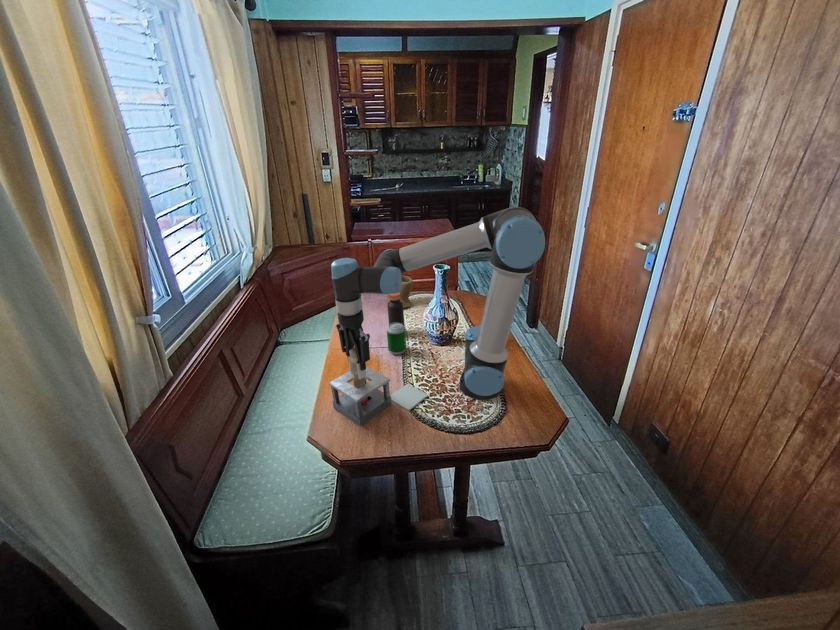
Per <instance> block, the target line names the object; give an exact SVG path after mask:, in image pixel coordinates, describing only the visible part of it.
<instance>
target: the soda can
mask: <svg viewBox="0 0 840 630" xmlns="http://www.w3.org/2000/svg"><path fill="white" fill-rule="evenodd" d="M406 337H407V335H406V327H405V324H404V325H402V324H401V323H391V324H390V325H389V324H388V325H387V327H386V339H387V348H388V352H389V353H391V354H392V355H395V356H400V355H402V354H403V353H405V352H406V350H407V338H406Z"/></svg>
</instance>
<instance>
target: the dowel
mask: <svg viewBox="0 0 840 630" xmlns="http://www.w3.org/2000/svg"><path fill="white" fill-rule="evenodd" d="M349 353H350V360H351V367H352V374H353V381H352V383H353V386H354V387H356V388H358V389H359V388H360V387H362V386H364V385H365V380H364V377H363V378H362V379H358V371H357V363H356V362H357V361H358V359H357V355H356V351H355V347H353V348H351V349H350V350H349Z"/></svg>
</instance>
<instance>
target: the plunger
mask: <svg viewBox="0 0 840 630" xmlns="http://www.w3.org/2000/svg"><path fill="white" fill-rule="evenodd" d="M367 401H368V396H367V397H365V398H364V399H362V400H361V405H363V404H364V403H366V402H367Z"/></svg>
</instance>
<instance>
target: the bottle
mask: <svg viewBox="0 0 840 630" xmlns="http://www.w3.org/2000/svg"><path fill="white" fill-rule="evenodd" d="M388 295H389V300H390V302H389V301H388V303H387V316H388V317H387V318H388V326H389V325H390V324H391V323H401V324H402V325H404V326H405V316H404V315H405V314H404V308H403V303H402V302H401V301H400V292H399V293H396V294H388Z"/></svg>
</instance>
